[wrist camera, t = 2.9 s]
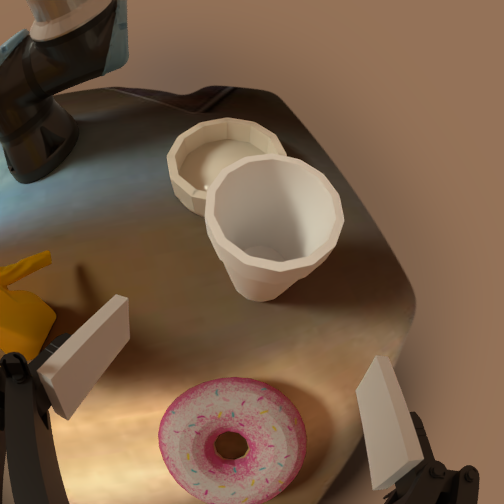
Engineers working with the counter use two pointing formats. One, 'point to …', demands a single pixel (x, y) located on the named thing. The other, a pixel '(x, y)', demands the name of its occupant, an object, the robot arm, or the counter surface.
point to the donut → (240, 421)
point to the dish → (214, 155)
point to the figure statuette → (23, 310)
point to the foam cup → (271, 222)
